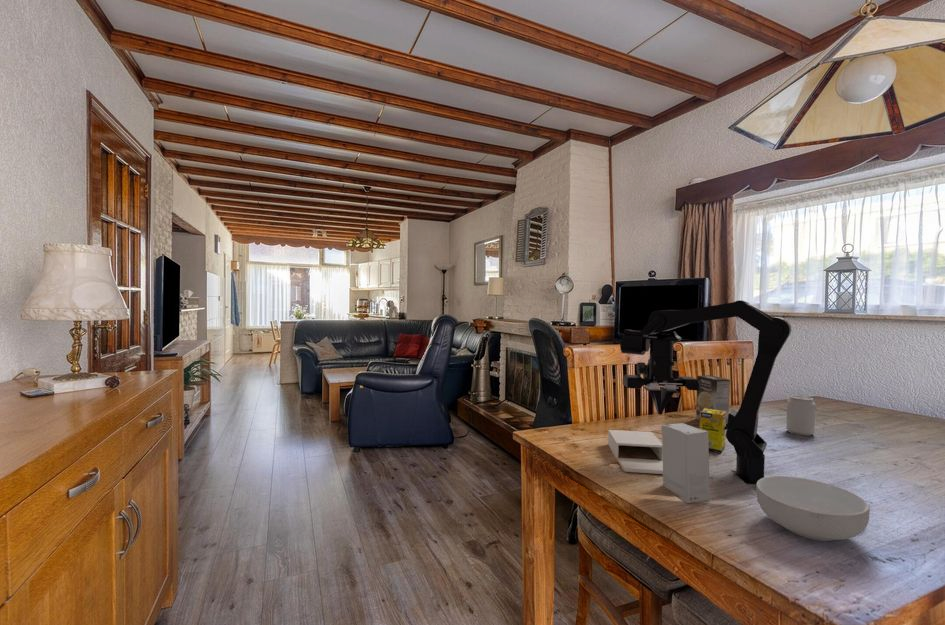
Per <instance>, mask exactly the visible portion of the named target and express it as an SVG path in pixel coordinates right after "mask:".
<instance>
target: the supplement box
mask: <svg viewBox="0 0 945 625" xmlns="http://www.w3.org/2000/svg"><path fill="white" fill-rule="evenodd" d="M725 420H726V411H720V410H713V409H707V408H704V409H703V410H702V411H701V412H700V420H699V429H701V430H704V431H707V432H708V446H709V450H711V451H710V452H713V451H716V452H715V453H718V452H721V453H720V454H722V453H723V451H724V449H725V447H726V446H725V445H726V430H724V428H725V426H726V425H725Z"/></svg>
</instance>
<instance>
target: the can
mask: <svg viewBox="0 0 945 625" xmlns="http://www.w3.org/2000/svg"><path fill="white" fill-rule="evenodd" d="M786 401H787V402H786V404H787V405H786V426H785V427H786V430H787V431H788V432H789V433H791V434H793V435H797V436H805V437H808V436H812V435H813V434H815V432H816V431H815V430H816V428H815V427H816V405H817V404H816V403H815V401H814V398H812V397H809V396H805V395H797V394H796V395H790V396H789V398H788V399H787V400H786Z"/></svg>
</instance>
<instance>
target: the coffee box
mask: <svg viewBox="0 0 945 625" xmlns="http://www.w3.org/2000/svg"><path fill="white" fill-rule="evenodd" d="M696 379H698V380H699V381H700V390H696V398H695V399H696V402H695V405H696V406H695V420H698V421H700V412H701V411H702V410H703V409H704V408H707V409H713V410H720V411H726V420H725V424H727V422H728V415H729V413H730V387H731V380H730V379H729V378H724V377H721V376H717V375H712V374H708V375H707V374H706V375H697V376H696Z"/></svg>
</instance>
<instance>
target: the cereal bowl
mask: <svg viewBox="0 0 945 625" xmlns="http://www.w3.org/2000/svg"><path fill="white" fill-rule="evenodd" d="M755 485H756V488H755V490H756V499H757V503H758V504H759V507H760V508H761V510H762V512H764V514H765V515H766V516H767V517H768V518H769V519H770V520H772V521H774V522H775V523H776V524H778V525H779V526H781V527H784V528H785V529H787V530H788V531H790V532H791V533H793V534H796V535H798V536H800V537H803V538H806V539H809V540H813V541H818V542H819V541H820V542H832V541H835V540H836V541H839V540H847V539H848V540H849V539H851V538H852V539H853V538H855V537H857V536H859V535H861V534H862V533H863V532H865V530H866V529H867V526H868V525H869V522H870V521H869V520H870V504H868V502H867V501H866V500H865V499H864V498H863V497H861V496H859V495H857V494H855V493H854V492H852V491H849V490H847V489H845V488H842V487H839V486H836V485H833V484H830V483H826V482H823V481H818V480H814V479H810V478H803V477H796V476H786V475H785V476H784V475H772V476H764V478H762V479H760V480H758V481H757V483H755Z"/></svg>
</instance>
